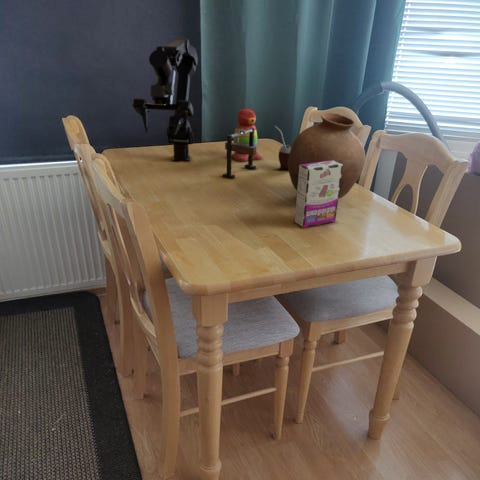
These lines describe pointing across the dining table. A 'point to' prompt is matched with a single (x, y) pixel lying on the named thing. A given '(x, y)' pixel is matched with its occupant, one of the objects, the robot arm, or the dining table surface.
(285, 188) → the dining table surface
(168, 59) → the robot arm
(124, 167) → the dining table surface
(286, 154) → the mate gourd
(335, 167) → the candy bar box
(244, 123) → the stacking bear
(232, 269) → the dining table surface
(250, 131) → the clothes rail
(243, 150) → the hanger
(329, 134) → the pottery
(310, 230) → the dining table surface
